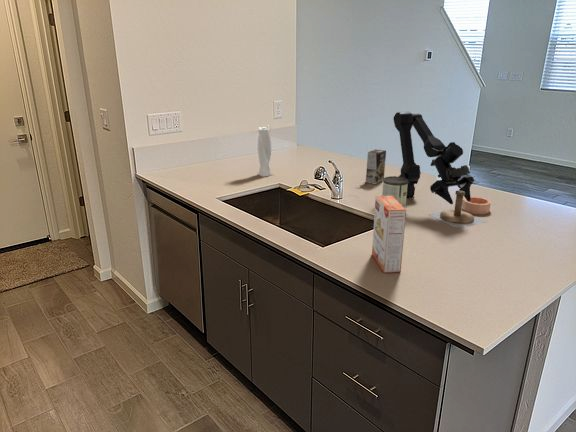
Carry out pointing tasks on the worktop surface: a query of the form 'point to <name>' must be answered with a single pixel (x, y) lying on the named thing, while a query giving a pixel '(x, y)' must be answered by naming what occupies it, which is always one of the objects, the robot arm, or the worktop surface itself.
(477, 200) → the bowl
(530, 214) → the worktop surface
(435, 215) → the mat
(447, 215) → the lid
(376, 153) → the coffee box
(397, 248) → the cracker box
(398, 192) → the coffee can
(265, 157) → the skyscraper
